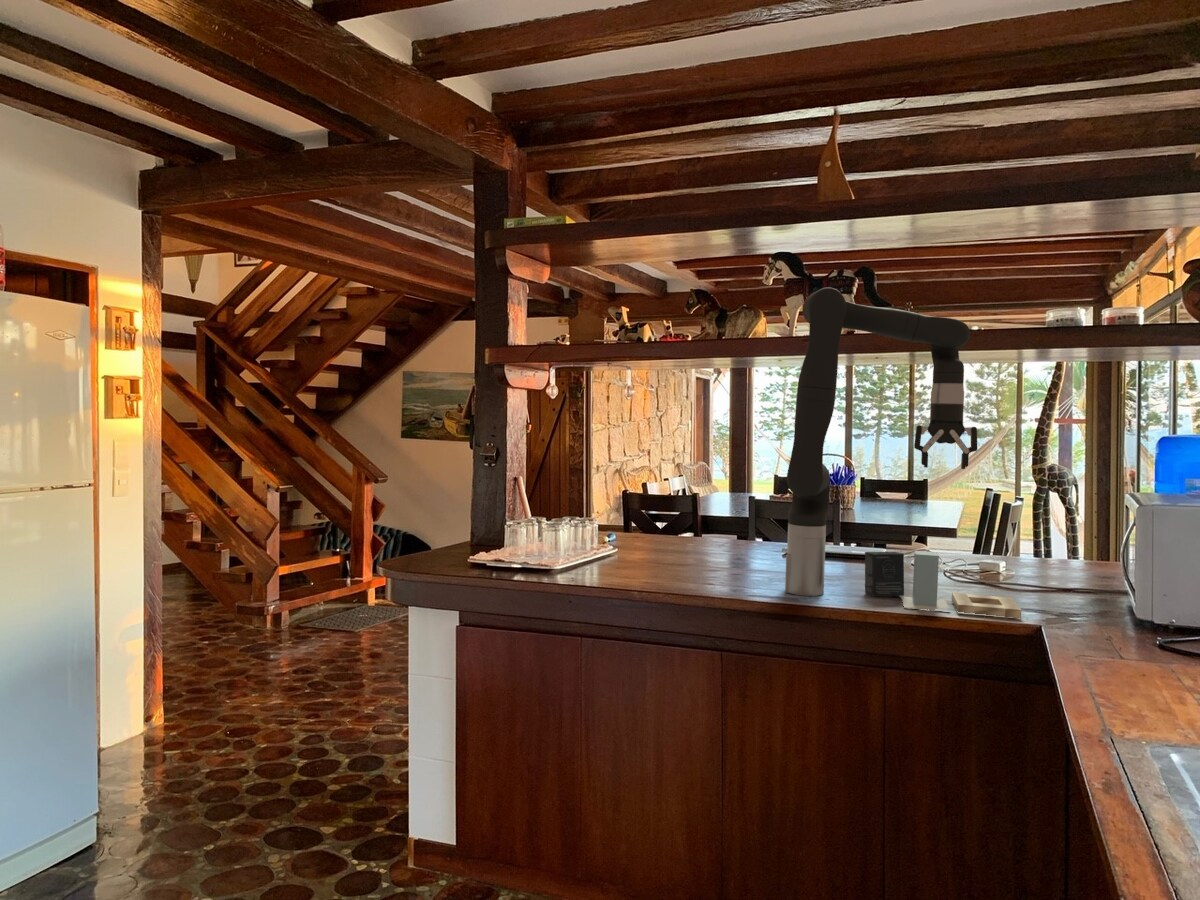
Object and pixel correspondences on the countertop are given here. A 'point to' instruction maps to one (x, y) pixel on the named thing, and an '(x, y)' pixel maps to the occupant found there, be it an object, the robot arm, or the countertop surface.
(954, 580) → the countertop surface
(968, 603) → the pocket board
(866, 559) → the box
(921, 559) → the block
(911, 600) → the mat
